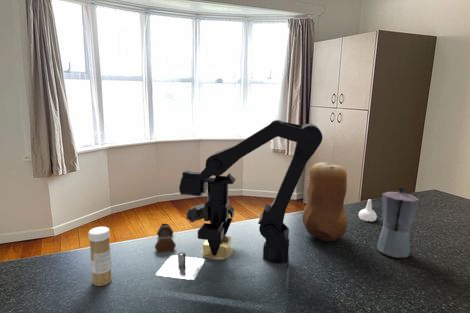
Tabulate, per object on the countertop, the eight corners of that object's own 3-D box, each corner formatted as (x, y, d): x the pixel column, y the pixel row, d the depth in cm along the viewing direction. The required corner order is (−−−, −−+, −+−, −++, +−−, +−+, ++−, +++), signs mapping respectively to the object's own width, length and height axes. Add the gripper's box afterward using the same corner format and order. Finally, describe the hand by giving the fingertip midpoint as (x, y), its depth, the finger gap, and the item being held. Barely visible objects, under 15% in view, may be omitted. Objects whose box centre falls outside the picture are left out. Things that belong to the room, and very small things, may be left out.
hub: (205, 262, 85) (205, 247, 84) (194, 283, 75) (194, 266, 74) (171, 258, 87) (171, 243, 86) (155, 278, 77) (155, 261, 76)
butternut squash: (344, 232, 105) (351, 160, 101) (346, 251, 93) (354, 170, 88) (302, 227, 109) (307, 157, 104) (299, 244, 96) (305, 166, 92)
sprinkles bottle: (94, 277, 77) (90, 226, 74) (113, 275, 78) (110, 225, 75) (90, 288, 73) (86, 235, 70) (111, 285, 74) (108, 233, 71)
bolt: (167, 237, 103) (168, 259, 89) (153, 231, 102) (152, 252, 87) (176, 222, 103) (178, 242, 89) (162, 216, 102) (162, 234, 87)
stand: (235, 248, 93) (235, 237, 92) (229, 264, 84) (229, 252, 83) (206, 245, 94) (206, 234, 94) (197, 260, 86) (197, 248, 85)
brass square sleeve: (230, 246, 92) (231, 236, 91) (225, 257, 85) (226, 247, 85) (209, 243, 93) (209, 234, 92) (202, 254, 86) (202, 244, 86)
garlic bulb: (359, 222, 116) (362, 202, 113) (357, 214, 122) (359, 196, 119) (377, 224, 114) (380, 204, 112) (374, 216, 120) (376, 197, 118)
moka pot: (409, 245, 97) (418, 184, 93) (414, 269, 84) (424, 198, 80) (376, 238, 101) (383, 179, 97) (375, 260, 88) (383, 193, 84)
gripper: (200, 185, 96) (200, 232, 99) (178, 206, 78) (178, 262, 81) (235, 188, 94) (234, 236, 97) (220, 210, 76) (220, 267, 79)
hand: (217, 249), depth 89 cm, fingers closed on brass square sleeve, 7 cm apart
